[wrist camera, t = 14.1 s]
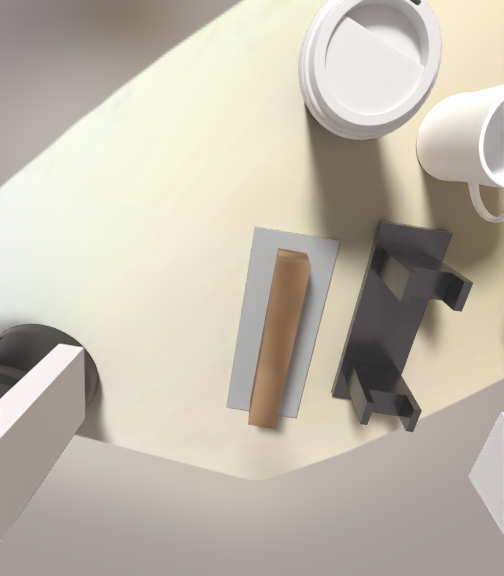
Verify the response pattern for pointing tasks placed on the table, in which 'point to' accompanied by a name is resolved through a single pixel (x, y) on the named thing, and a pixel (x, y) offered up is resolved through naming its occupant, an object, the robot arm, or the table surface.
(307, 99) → the coffee cup
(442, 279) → the stand
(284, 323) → the rail
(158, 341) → the table surface
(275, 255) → the mat
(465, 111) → the mug
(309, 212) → the table surface
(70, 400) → the robot arm
